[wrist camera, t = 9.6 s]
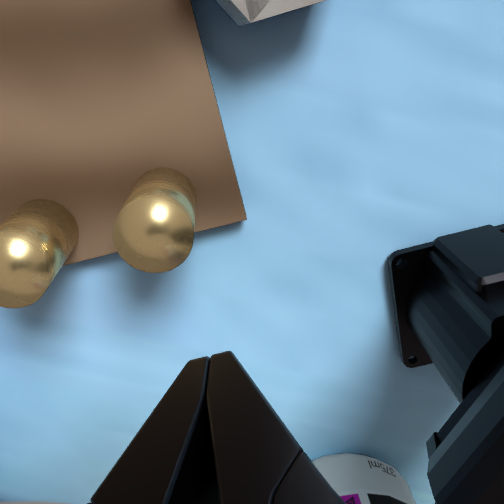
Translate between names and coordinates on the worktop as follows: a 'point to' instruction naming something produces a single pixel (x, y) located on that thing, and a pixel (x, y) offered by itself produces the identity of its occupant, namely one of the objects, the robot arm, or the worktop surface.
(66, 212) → the brass spacers
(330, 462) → the supplement can
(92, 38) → the board
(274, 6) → the steel nut
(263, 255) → the worktop surface
